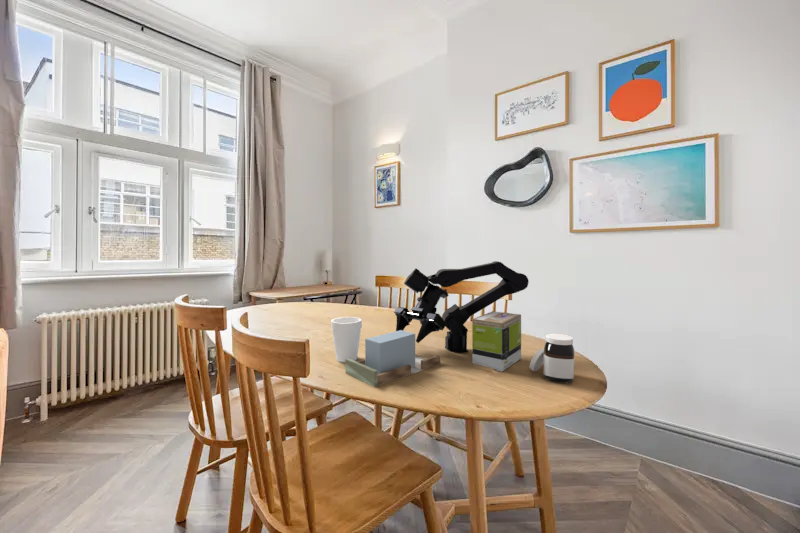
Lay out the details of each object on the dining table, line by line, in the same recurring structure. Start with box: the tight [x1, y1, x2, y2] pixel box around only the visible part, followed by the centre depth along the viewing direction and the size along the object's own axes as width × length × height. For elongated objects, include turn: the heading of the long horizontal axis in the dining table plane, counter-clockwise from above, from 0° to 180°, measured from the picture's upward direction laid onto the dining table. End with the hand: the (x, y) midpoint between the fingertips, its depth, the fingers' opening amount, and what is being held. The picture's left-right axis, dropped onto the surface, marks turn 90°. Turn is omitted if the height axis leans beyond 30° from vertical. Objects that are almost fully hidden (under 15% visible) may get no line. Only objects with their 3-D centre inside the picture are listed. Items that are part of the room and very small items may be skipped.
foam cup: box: [330, 316, 363, 363], centre depth 112 cm, size 10×9×13 cm
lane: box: [345, 354, 442, 388], centre depth 104 cm, size 26×25×5 cm
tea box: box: [471, 310, 522, 372], centre depth 111 cm, size 15×10×15 cm
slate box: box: [364, 330, 416, 374], centre depth 102 cm, size 14×6×10 cm, turn 135°
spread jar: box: [529, 333, 576, 384], centre depth 99 cm, size 12×11×12 cm
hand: (406, 339), depth 114 cm, fingers open, 9 cm apart
